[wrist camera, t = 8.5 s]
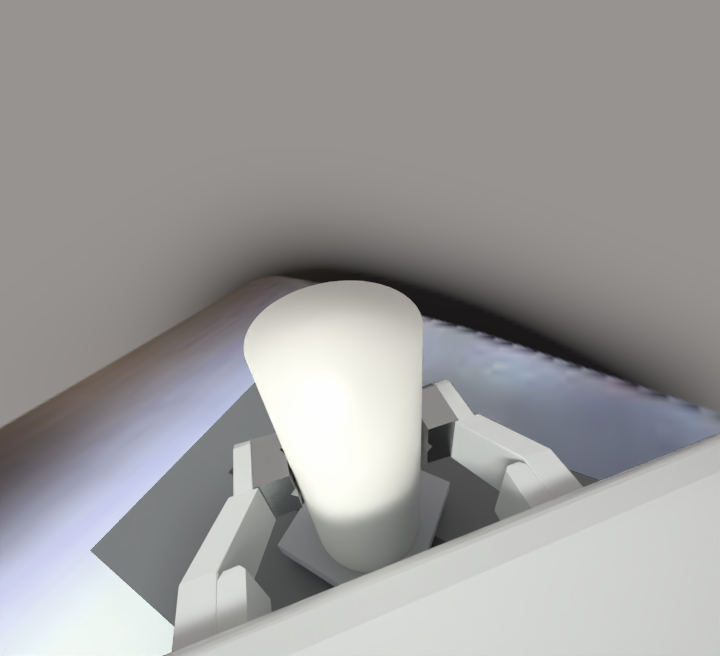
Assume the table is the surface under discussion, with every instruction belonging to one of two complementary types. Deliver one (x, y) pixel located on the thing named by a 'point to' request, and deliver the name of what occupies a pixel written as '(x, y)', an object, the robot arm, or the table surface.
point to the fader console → (215, 485)
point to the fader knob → (348, 424)
